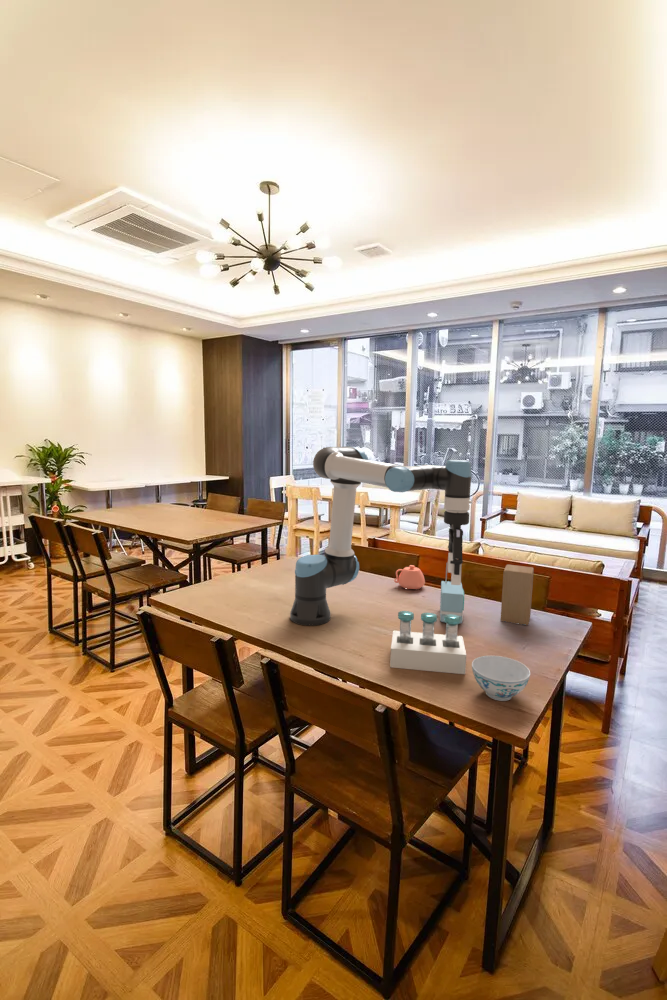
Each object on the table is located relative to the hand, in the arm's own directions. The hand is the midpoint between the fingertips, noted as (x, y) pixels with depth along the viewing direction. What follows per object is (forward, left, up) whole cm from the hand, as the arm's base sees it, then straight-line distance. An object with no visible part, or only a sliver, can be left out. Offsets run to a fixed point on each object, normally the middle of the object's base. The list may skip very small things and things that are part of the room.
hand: (453, 578), depth 156 cm
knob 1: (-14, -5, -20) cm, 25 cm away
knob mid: (-7, -5, -20) cm, 22 cm away
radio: (+3, +35, -26) cm, 44 cm away
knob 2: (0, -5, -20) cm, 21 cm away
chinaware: (+12, -22, -26) cm, 36 cm away
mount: (-7, -5, -26) cm, 27 cm away
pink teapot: (-14, +70, -26) cm, 76 cm away
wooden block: (+27, +38, -26) cm, 53 cm away
